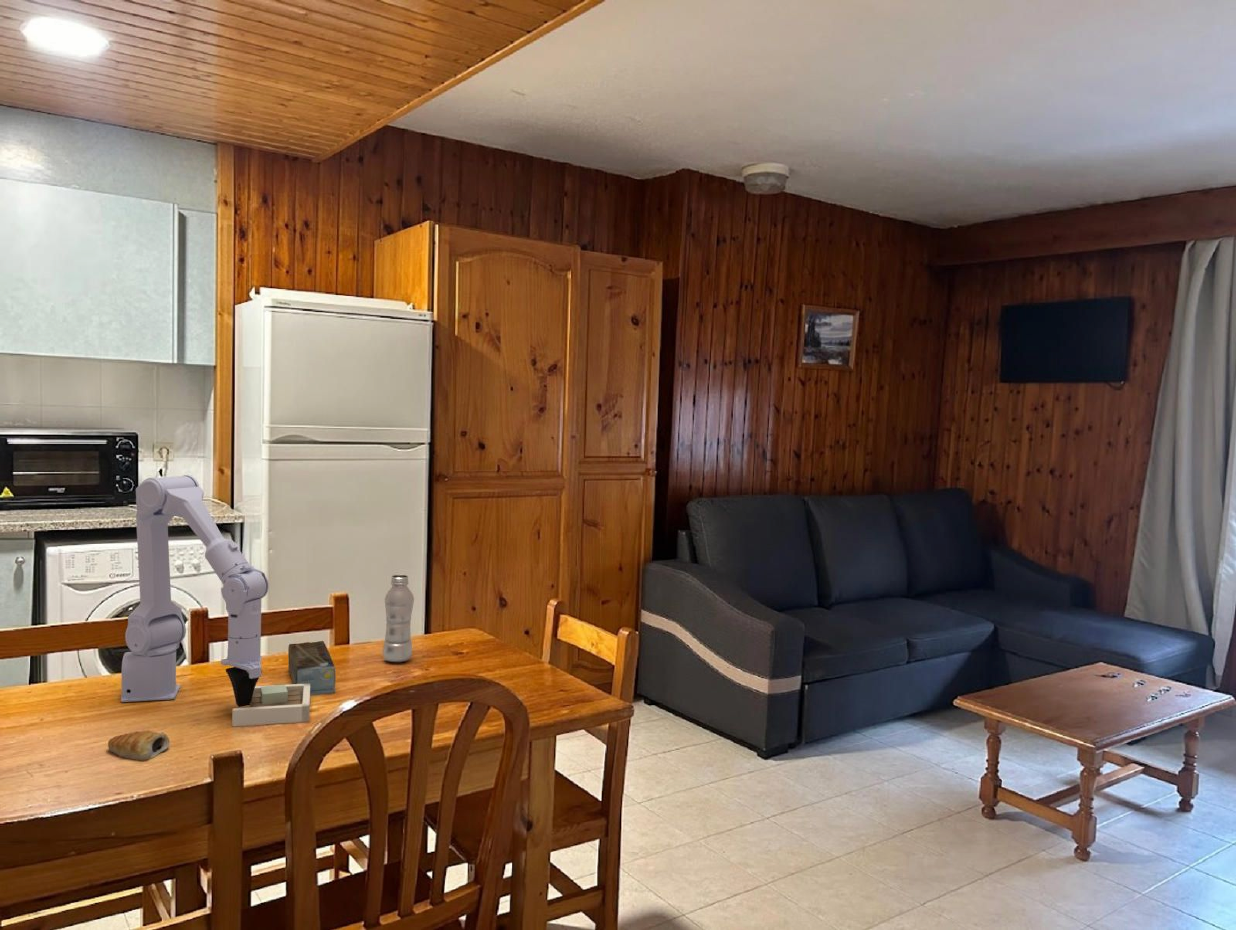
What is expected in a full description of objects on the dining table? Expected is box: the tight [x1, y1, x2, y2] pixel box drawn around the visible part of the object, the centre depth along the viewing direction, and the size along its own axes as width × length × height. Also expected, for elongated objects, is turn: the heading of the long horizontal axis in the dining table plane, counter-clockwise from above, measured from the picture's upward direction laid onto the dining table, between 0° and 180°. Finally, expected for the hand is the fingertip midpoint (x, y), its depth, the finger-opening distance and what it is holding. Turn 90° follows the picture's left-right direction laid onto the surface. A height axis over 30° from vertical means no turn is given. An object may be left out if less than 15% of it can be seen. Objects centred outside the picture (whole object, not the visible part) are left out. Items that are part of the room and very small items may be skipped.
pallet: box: [249, 690, 302, 707], centre depth 171 cm, size 9×9×3 cm
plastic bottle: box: [382, 574, 415, 663], centre depth 205 cm, size 6×7×20 cm
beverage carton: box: [287, 640, 336, 696], centre depth 189 cm, size 8×19×7 cm, turn 25°
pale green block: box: [260, 684, 288, 704], centre depth 171 cm, size 4×4×2 cm
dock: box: [231, 683, 311, 727], centre depth 170 cm, size 13×13×3 cm
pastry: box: [107, 729, 171, 761], centre depth 150 cm, size 9×7×4 cm
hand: (243, 705), depth 169 cm, fingers closed
